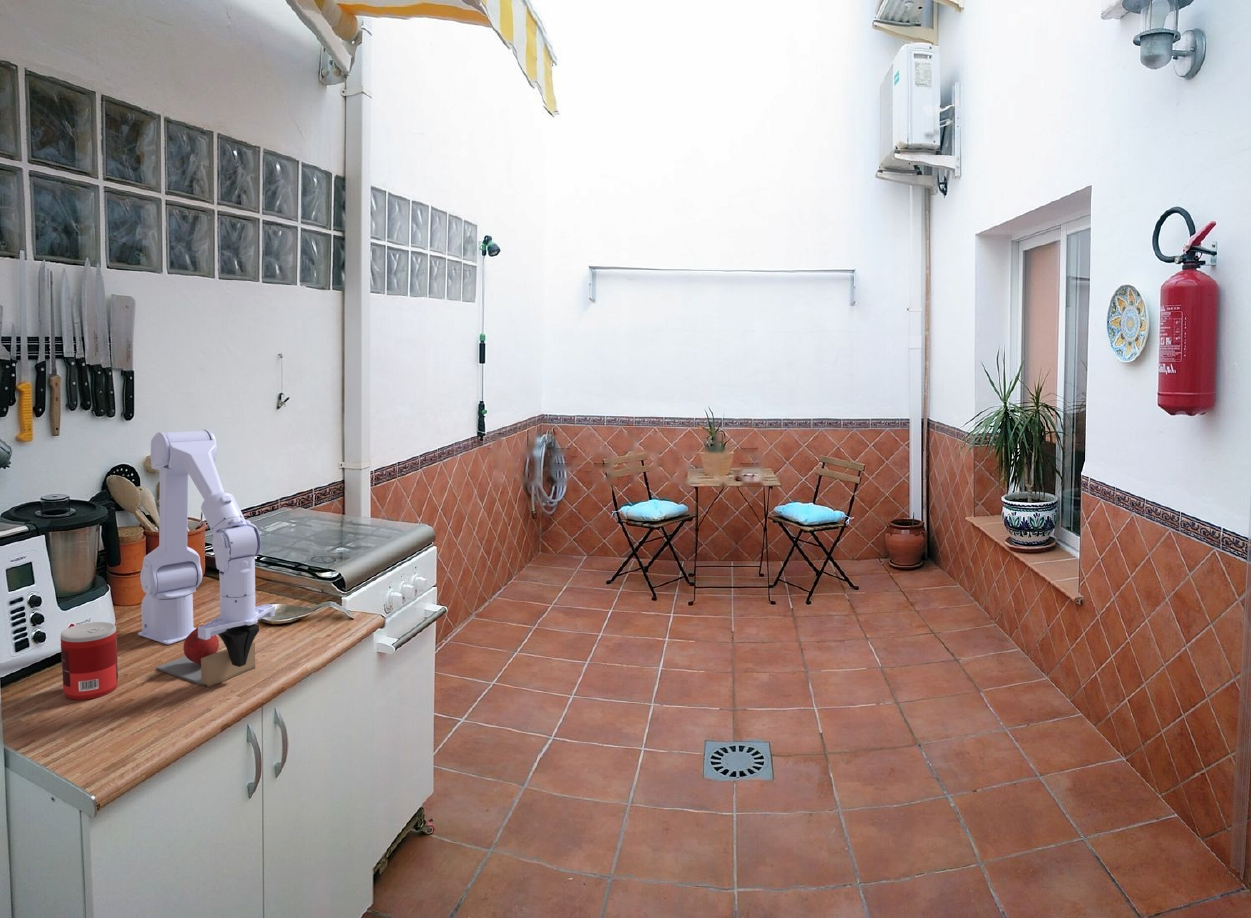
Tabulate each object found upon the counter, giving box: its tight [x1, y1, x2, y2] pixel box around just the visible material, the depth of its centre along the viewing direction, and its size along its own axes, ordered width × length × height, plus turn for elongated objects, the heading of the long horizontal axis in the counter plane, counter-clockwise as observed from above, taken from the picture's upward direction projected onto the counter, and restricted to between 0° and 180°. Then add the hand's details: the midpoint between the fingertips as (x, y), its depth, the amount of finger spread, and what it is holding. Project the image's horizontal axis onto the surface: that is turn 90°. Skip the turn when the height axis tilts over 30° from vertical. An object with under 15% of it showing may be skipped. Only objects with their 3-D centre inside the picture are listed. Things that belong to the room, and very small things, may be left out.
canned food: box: [60, 621, 119, 701], centre depth 139 cm, size 8×8×11 cm
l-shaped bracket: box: [155, 641, 256, 688], centre depth 150 cm, size 14×10×5 cm
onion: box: [183, 622, 220, 665], centre depth 150 cm, size 6×6×8 cm
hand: (238, 664), depth 146 cm, fingers closed
